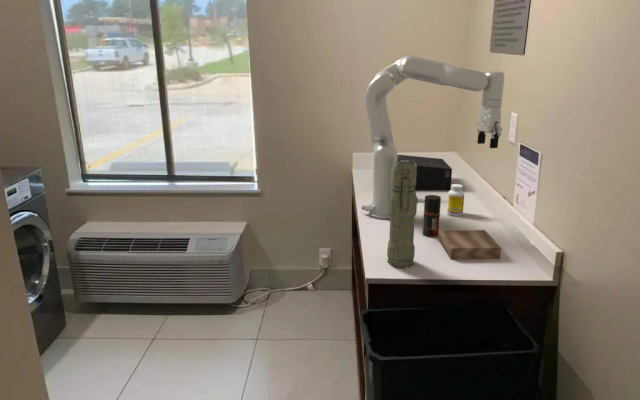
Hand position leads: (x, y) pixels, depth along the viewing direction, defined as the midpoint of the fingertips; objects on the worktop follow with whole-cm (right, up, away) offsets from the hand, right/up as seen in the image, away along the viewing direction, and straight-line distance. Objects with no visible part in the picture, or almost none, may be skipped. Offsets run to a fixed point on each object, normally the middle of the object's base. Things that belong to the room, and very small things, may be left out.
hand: (487, 145), depth 200 cm
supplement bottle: (-10, -28, +12) cm, 32 cm away
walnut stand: (-16, -40, -26) cm, 50 cm away
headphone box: (-19, -14, +60) cm, 64 cm away
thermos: (-41, -43, -36) cm, 70 cm away
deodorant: (-26, -36, -11) cm, 45 cm away
